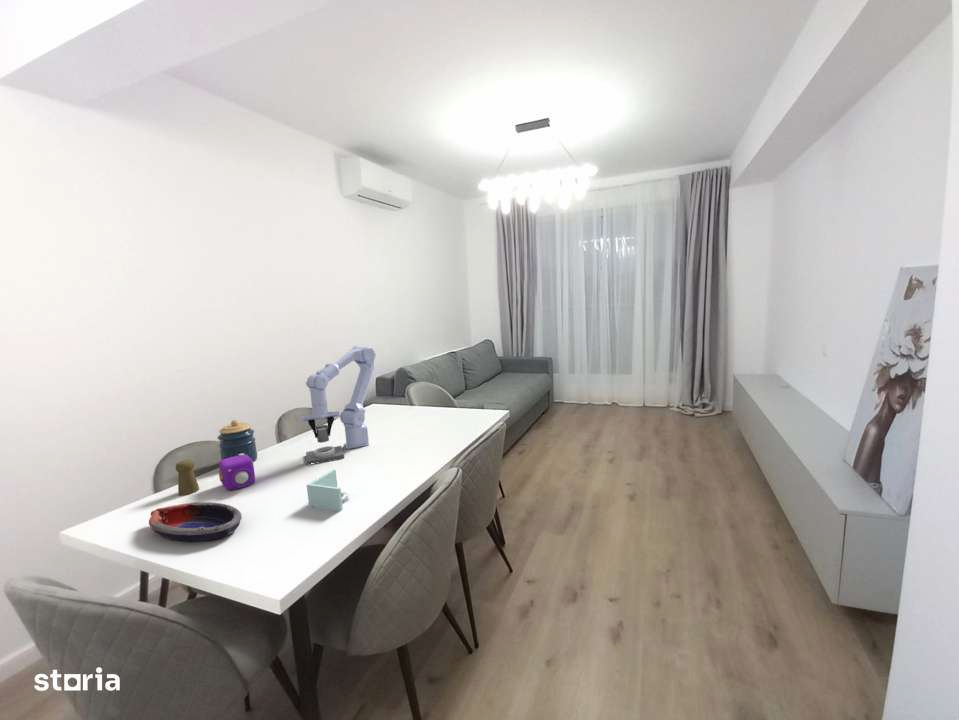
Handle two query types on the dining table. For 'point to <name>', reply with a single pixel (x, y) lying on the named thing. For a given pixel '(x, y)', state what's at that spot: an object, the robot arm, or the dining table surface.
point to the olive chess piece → (186, 478)
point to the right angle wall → (326, 492)
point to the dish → (195, 521)
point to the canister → (237, 441)
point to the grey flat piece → (324, 454)
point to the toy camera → (236, 472)
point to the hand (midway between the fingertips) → (322, 436)
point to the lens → (322, 433)
